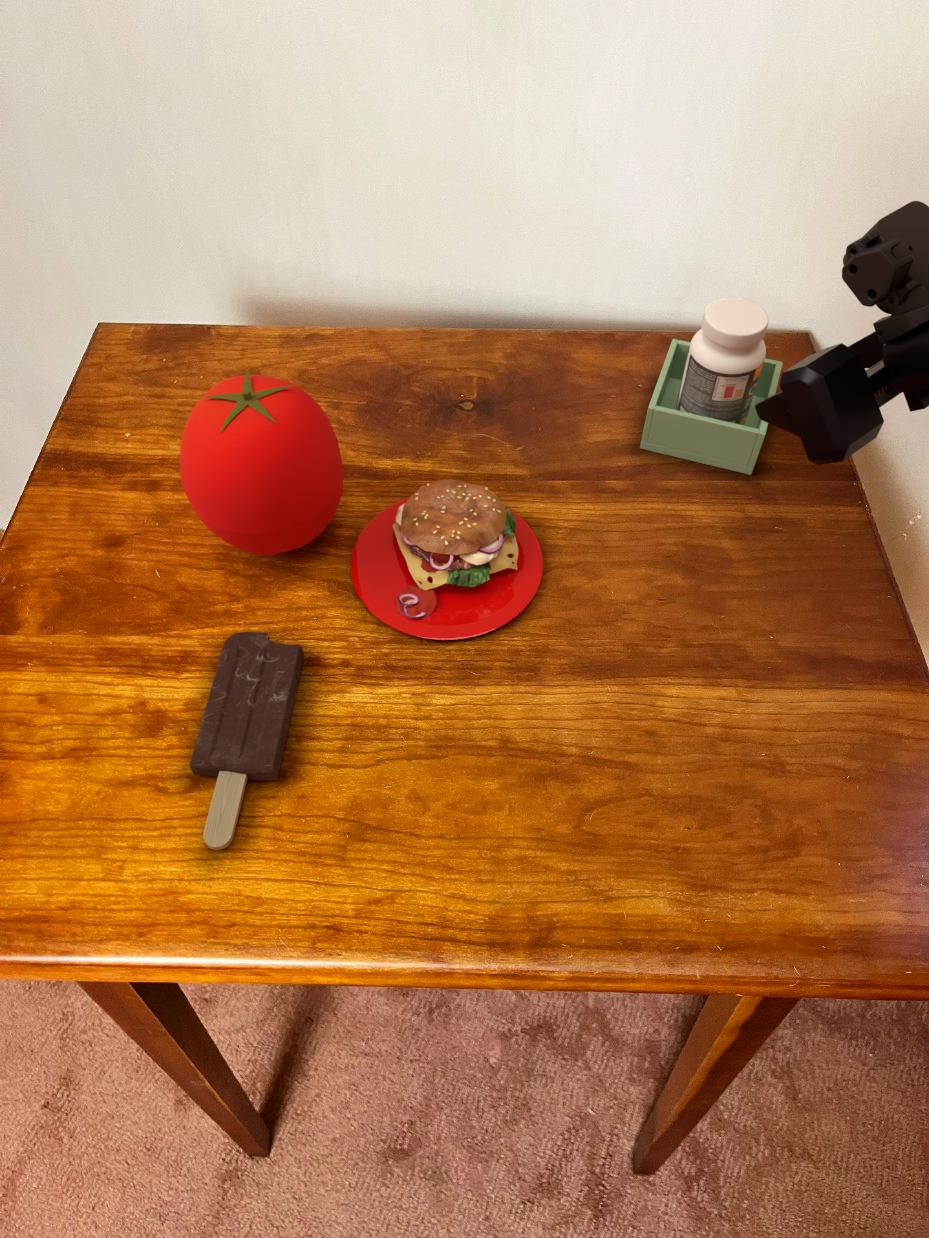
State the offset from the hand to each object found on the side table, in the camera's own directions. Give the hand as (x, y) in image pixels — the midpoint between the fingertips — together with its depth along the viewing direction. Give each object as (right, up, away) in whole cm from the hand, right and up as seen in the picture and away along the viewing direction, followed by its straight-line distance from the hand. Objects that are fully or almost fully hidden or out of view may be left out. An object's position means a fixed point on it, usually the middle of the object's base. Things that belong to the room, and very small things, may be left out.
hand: (801, 384), depth 65 cm
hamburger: (-25, -13, +2) cm, 28 cm away
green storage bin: (-4, -1, +10) cm, 11 cm away
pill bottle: (-4, -1, +10) cm, 10 cm away
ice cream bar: (-38, -25, -7) cm, 46 cm away
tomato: (-38, -10, +4) cm, 39 cm away
